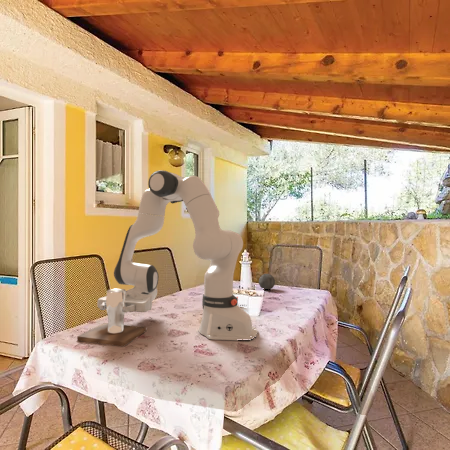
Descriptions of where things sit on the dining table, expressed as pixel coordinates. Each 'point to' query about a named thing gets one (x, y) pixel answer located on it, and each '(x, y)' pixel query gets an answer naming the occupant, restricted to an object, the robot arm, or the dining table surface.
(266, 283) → the decorative ball
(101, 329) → the walnut board
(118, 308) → the beer glass
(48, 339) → the dining table surface
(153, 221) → the robot arm
